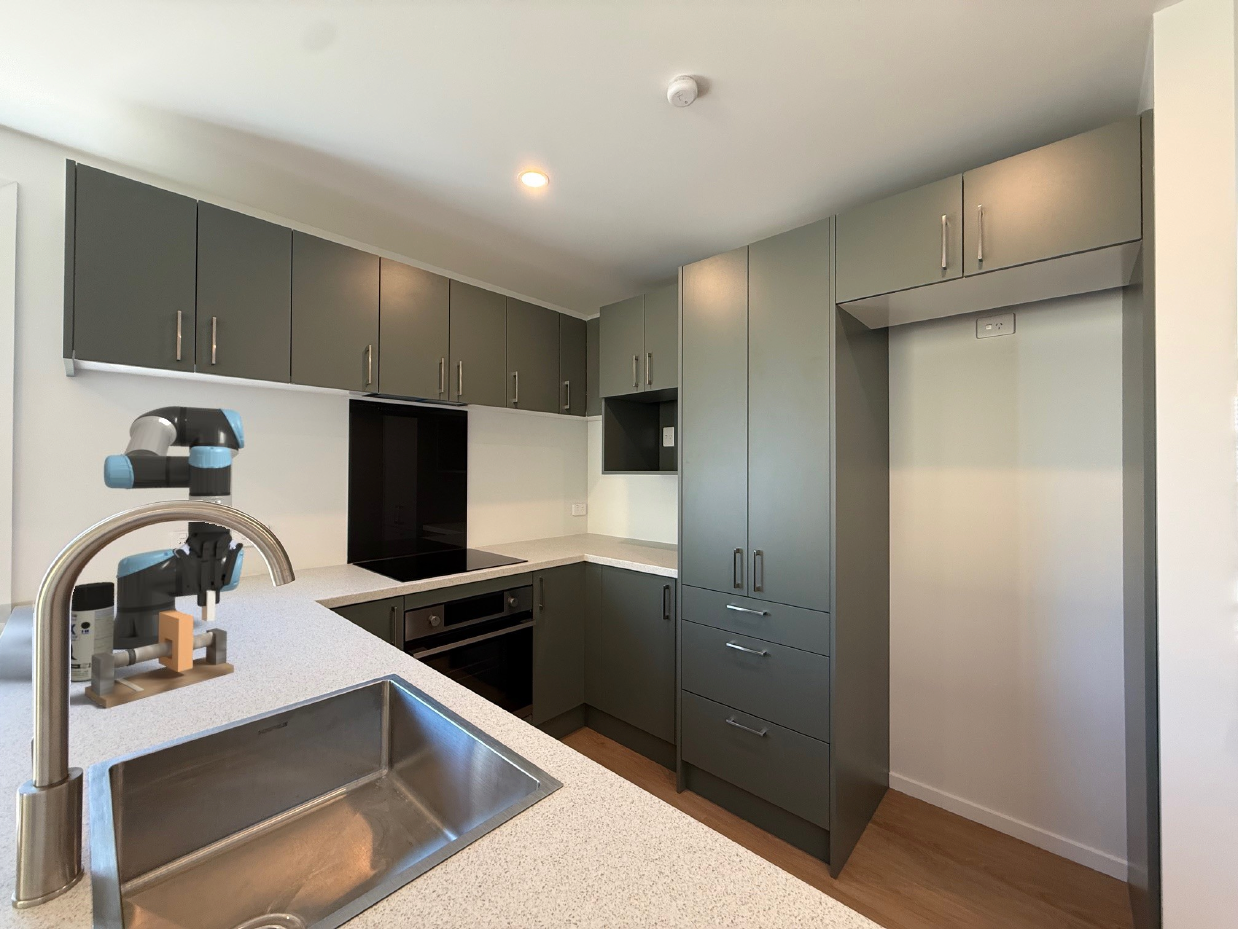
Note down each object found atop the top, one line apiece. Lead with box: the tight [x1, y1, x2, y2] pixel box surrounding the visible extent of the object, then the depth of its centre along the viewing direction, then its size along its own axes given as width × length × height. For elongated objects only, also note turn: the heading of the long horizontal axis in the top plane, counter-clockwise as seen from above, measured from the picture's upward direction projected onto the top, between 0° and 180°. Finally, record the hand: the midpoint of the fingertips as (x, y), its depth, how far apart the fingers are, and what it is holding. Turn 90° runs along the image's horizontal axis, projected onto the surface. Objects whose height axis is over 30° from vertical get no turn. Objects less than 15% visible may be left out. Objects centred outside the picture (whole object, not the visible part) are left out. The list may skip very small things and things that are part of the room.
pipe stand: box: [84, 627, 235, 709], centre depth 111 cm, size 21×12×9 cm, turn 149°
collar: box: [157, 609, 194, 672], centre depth 112 cm, size 2×10×11 cm, turn 59°
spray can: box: [70, 581, 115, 683], centre depth 114 cm, size 7×7×20 cm
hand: (208, 619), depth 118 cm, fingers closed
